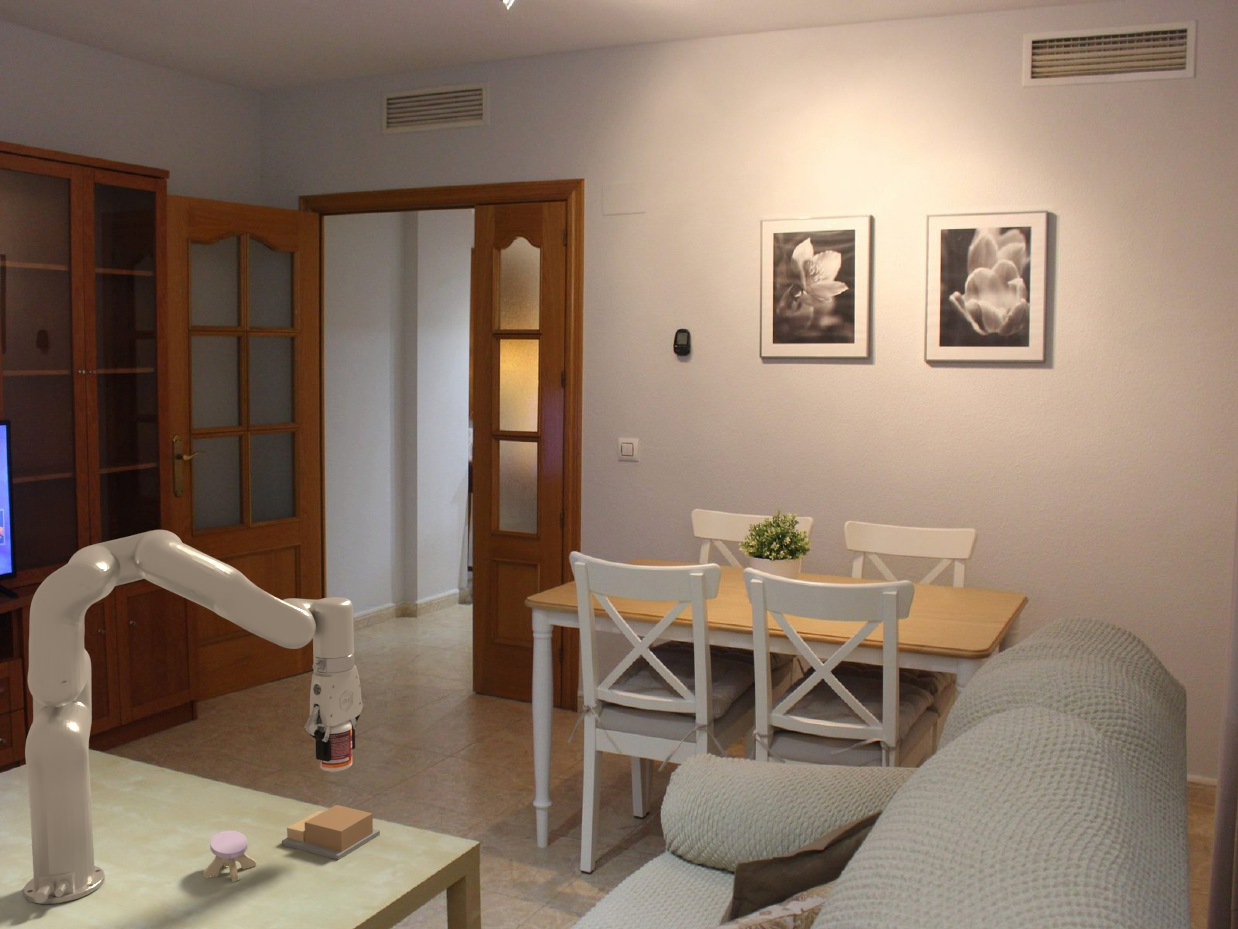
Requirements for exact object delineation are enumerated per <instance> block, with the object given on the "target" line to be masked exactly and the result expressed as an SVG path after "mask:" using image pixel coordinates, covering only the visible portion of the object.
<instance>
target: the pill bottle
mask: <svg viewBox="0 0 1238 929" xmlns="http://www.w3.org/2000/svg"><path fill="white" fill-rule="evenodd" d="M322 723H323V722H322ZM324 728H325V727H322V728H321V732H322V733H323V732H324ZM328 740H330V742H331V760H330V761H328V762H327V761H322V760H318V761H319V762H318V763H319V767H320V769H322V771H326V772H342V771H345V770H347V769H349V768H350V767H352V765H353V750H352V724H351V722H350V721H349V720H348V721H346V722H344V723H342V724H339V725H337V726H335V727H331V730H330V734H329V738H328Z"/></svg>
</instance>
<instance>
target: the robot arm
mask: <svg viewBox="0 0 1238 929" xmlns="http://www.w3.org/2000/svg"><path fill="white" fill-rule="evenodd" d="M143 579H144V580H146V581H148V582H150V583H152V584H154V585H156V586H159V587H161V588H163V589H164V590H167V591H169V592H171V593H174V594H176V595H178V596H180V597H182V598H185V599H186V600H189V601H191V602H193V603H196V604H197V605H200V606H202V607H204V608H206V609H208V610H210V611H211V612H213V613H215V614H216V615H218V616H220V617H221V618H223V619H226V620H228V621H230V622H232V624H233V623H234V624H235V625H236V626H239V627H240V628H242V629H244V630H246V631H248V632H249V633H251V634H254V635H256V636H258V637H260V638H262V639H264V640H267V641H268V642H271V643H273V644H276V645H277V646H280V647H282V648H286V649H289V650H290V649H292V650H294V649H296V650H297V649H301V648H303V647H305V646H306V645H308V644H309V643H310V642H311V641H312V644H313V645H312V646H313V648H312V649H313V651H312V652H313V656H312V657H313V664H312V669H313V673H312V675H311V676H312V677H311V684H310V692H309V693H310V694H309V717H308V719H307V720H306V723H305V724H304V729H305V730H306V732H307V733H308V734H309V736H311V737H312V739H313V741H315V758H316V760H318V761H319V760H322V761H327V762H328V761H330V760H331V742H330V740H328V738H329V734H330V730H331V727H335V726H337V725H339V724H342V723H344V722H346V721H348V720H349V721H350V722H351V724H352V751H353V750H355V749H356V729H357V727H358V723H357V722H358V721H359V718H360V716H361V713H362V711H363V709H364V706H365V704H364V702H363V701H362V688H361V682H360V675H359V671H358V666H356V665H355V642H354V641H355V637H354V636H355V634H354V632H355V630H354V626H355V625H354V605H353V602H352V601H351V599H348V598H346V597H342V596H341V597H340V596H331V597H324V598H321V599H308V598H297V597H296V598H284V599H280V598H278V597H275V596H274V595H272V594H271V593H269V592H267V591H265V590H264V589H261V587H258V586H257V585H256V584H255V583H254V582H253V581H250V580H251V579H248V578H247V577H246V575H244V574H243V573H242V572H241V571H240V570H238V569H237V568H235V567H233V566H231V565H230V564H228V563H225V562H223V561H221V560H219V559H217V558H215V557H213V556H210V555H209V554H206V553H204V552H202V551H200V550H198V549H196V548H194V547H192V546H190V545H188V544H186V543H183V542H182V540H181V538H180V537H179V536H178V535H176V534H175V533H174V532H172V531H169V530H165V529H154V530H148V531H145V532H141V533H137V534H133V535H130V536H125V537H120V538H117V539H112V540H108V541H103V542H99V543H95V544H92V545H88V546H85V547H82V548H81V549H79V550H77V551H76V552H75V553H74V554H73V555H72V556H71V558H70V559H69V561H68V563H66V564H65V565H63V566H62V567H60V568H58V569H57V570H55V571H54V572H52V573H51V574H50V575H48V576H47V577H46V578H45V579H44V580H43V581H42V582H41V584H40V585H39V586H38V587H37V589H36V591H35V593H34V595H33V597H32V600H31V604H30V610H29V632H28V633H29V637H28V672H27V686H28V690H29V692H30V694H31V696H32V710H33V712H32V714H33V718H32V723H31V725H30V728H29V730H28V733H27V737H26V741H25V747H24V749H25V750H24V751H25V752H24V754H25V755H24V757H25V765H26V773H27V774H26V775H27V781H28V782H27V783H28V796H29V797H28V798H29V811H30V812H29V813H30V831H31V849H32V850H31V851H32V870H33V871H32V872H33V873H32V874H33V878H31V879H30V880H29V881H27V883H26V884H25V886H24V888H23V896H24V897H25V898H24V899H25V900H27V901H28V902H32V903H34V904H35V903H36V904H41V905H51V904H60V903H66V902H71V901H73V900H77V899H80V898H83V897H85V896H87V895H89V894H91V893H94V892H95V891H96V890H97V889H98V888H100V887H101V886H102V885H103V884H104V881H105V872H104V870H103V869H102V868H100V866H97V865H95V855H94V854H95V852H94V851H95V850H94V833H93V832H94V828H93V826H94V825H93V811H92V809H93V808H92V790H91V789H92V788H91V773H90V772H91V771H90V759H89V758H90V756H89V751H90V750H89V747H90V743H89V742H90V734H91V729H92V728H91V727H92V719H93V717H92V715H93V714H92V710H93V708H92V705H93V704H92V700H93V699H92V662H91V657H90V654H89V653H88V651H87V650H86V648H85V631H86V630H85V629H86V628H85V618H86V617H85V616H86V614H87V610H88V609H89V608H90V607H91V606H92V605H93V604H95V603H97V602H99V601H100V600H102V599H104V598H106V597H107V596H109V594H110V593H112V591H113V589H114V588H115V587H117V586H121V585H125V584H129V583H133V582H137V581H139V580H140V581H141V580H143ZM322 722H323V723H322ZM322 727H325V728H324V732H323V733H322V732H321V728H322Z"/></svg>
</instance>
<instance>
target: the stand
mask: <svg viewBox="0 0 1238 929" xmlns="http://www.w3.org/2000/svg"><path fill="white" fill-rule="evenodd" d="M373 823H374V822H373V813H372V812H368V811H364V810H360V809H355V808H351V807H347V806H344V805H339V804H336V805H334V806H332V807H329V808H328V809H326V810H324V811H323V810H318V811H315V812H313V813H311V814H310V815H308V816H306V817H304V818H303V819H300V820H299V821H297V822H295V823H293V824H291V825H289V826H287V828H286V834H287V835H286V836H287V837H286V838H284V839H282V840H281V845H283V846H286V847H289V848H293V849H297V850H300V851H304V852H308V853H312V854H316V855H319V856H322V857H327V858H330V859H333V860H334V859H335V860H340V859H343V857H345V856H347V855H349V854H350V853H352V852H353V851H355V850H357V849H359V848H360V847H362V846H363V845H365V844H367V843H368V842H369V841H371V840H374V839H375V838H377V837H378V836H380V834H381V833H380V832H381V831H380V829H379V830H378V829H375V828H374V825H373Z"/></svg>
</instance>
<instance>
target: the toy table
mask: <svg viewBox="0 0 1238 929" xmlns="http://www.w3.org/2000/svg"><path fill="white" fill-rule="evenodd" d="M209 844H210V845H209V846H210V851H211V853H212V854H213V855H215V857H214V859H213V860H212V862H211V863H210V864H208V866H206V868H205V869H204V871H203V877H204V879H207V878H206V877H209V878H211V877H210V876H213V877H217V876H216V875H218V876H219V875H220V870H221V869H222V866H223V867H224V866H225V867H226V866H229V867H228V869H229V877H230V876H231V877H230V879H231V881H232V880H233V881H232V882H233V883H234V882H237V880H238V881H239V873H238V869H237V863H236V862H238V863H239V864H240V867H242V868H241V869H242V870H246V868H247V869H250V867H251V868H254V867H253V866H255V867H257V862H256V861H255V859H254V858H252V857H251V856H248V855H247V854H246V851H248V845H249V844H248V839H247V837H246V836H245V835H244V834H243V833H241V832H239V831H235V830H224V831H219V832H218V833H216V834H214V835H213V836H212V837H211V838H210V841H209ZM225 867H224V868H225ZM226 868H227V867H226Z"/></svg>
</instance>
